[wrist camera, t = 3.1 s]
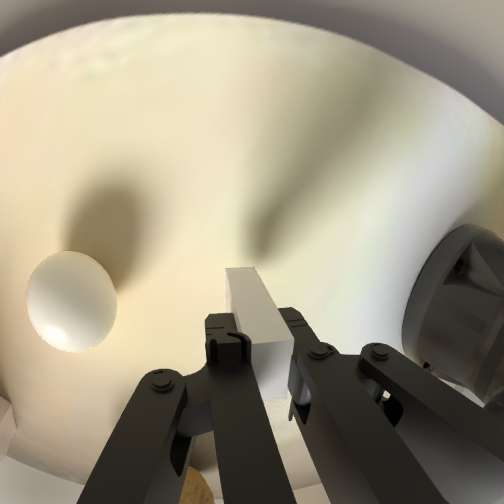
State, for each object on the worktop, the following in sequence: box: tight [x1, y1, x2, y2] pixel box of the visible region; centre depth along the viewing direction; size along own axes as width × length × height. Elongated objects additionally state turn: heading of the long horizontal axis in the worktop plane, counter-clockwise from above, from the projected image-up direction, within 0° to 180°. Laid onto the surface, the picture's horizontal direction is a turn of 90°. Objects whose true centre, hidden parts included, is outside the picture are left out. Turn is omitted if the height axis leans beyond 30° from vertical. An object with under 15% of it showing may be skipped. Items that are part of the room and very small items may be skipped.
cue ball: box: [26, 251, 117, 352], centre depth 12 cm, size 6×6×6 cm
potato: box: [179, 466, 215, 504], centre depth 17 cm, size 10×14×8 cm
